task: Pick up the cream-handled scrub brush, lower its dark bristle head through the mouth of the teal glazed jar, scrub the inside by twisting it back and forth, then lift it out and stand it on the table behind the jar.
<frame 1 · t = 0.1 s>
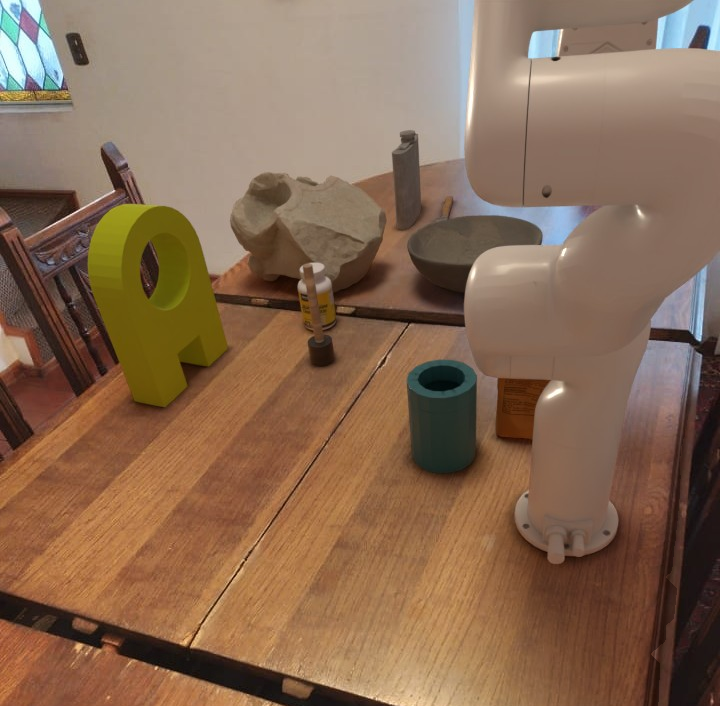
hand: (592, 157, 80), 37 cm above the table, tool pointing down, fingers open, 9 cm apart
bowl: (473, 283, 139), on the table
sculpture: (320, 275, 150), on the table
pill bottle: (320, 324, 133), on the table
decorative object: (183, 374, 124), on the table
jar: (443, 452, 99), on the table
scrub brush: (322, 359, 122), on the table
knife: (440, 225, 164), on the table
hip flask: (411, 218, 170), on the table
coffee package: (530, 420, 103), on the table
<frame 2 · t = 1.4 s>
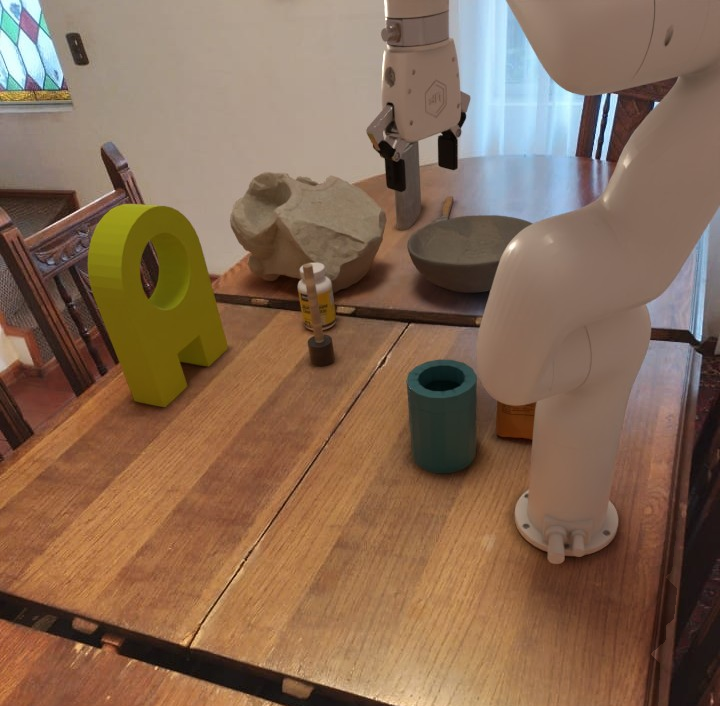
hand: (422, 178, 92), 33 cm above the table, tool pointing down, fingers open, 9 cm apart
nothing on the table moved.
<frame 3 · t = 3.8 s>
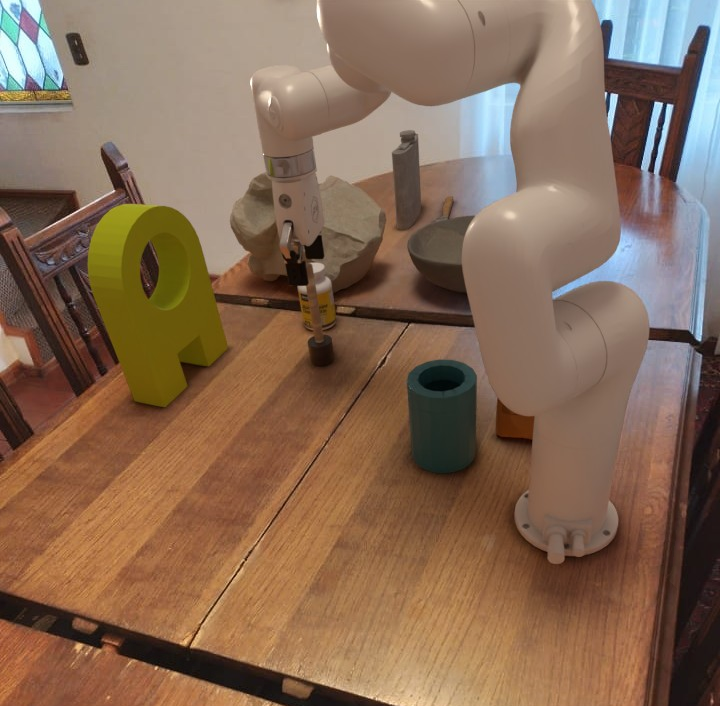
hand: (307, 271, 111), 17 cm above the table, tool pointing down, fingers open, 9 cm apart
nothing on the table moved.
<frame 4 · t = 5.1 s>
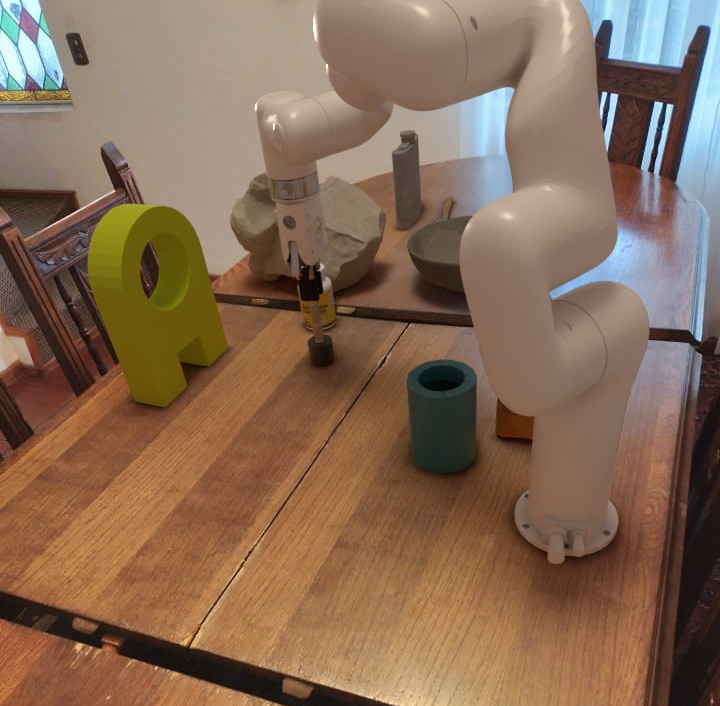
hand: (312, 296, 114), 13 cm above the table, tool pointing down, fingers closed on scrub brush
scrub brush: (322, 359, 122), on the table, touching gripper
everything else where it was.
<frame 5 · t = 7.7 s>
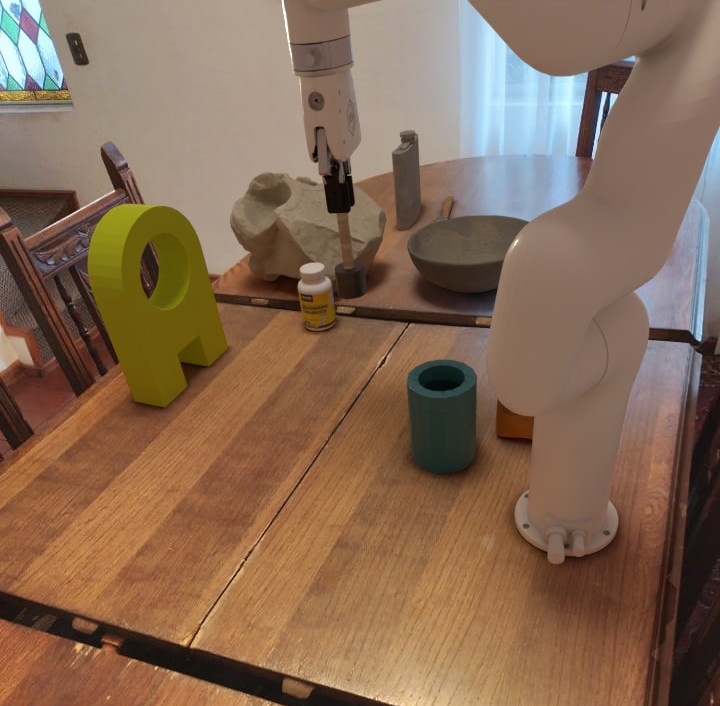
hand: (341, 208, 93), 31 cm above the table, tool pointing down, fingers closed on scrub brush
scrub brush: (352, 292, 101), point 18 cm above the table, touching gripper
everything else where it was.
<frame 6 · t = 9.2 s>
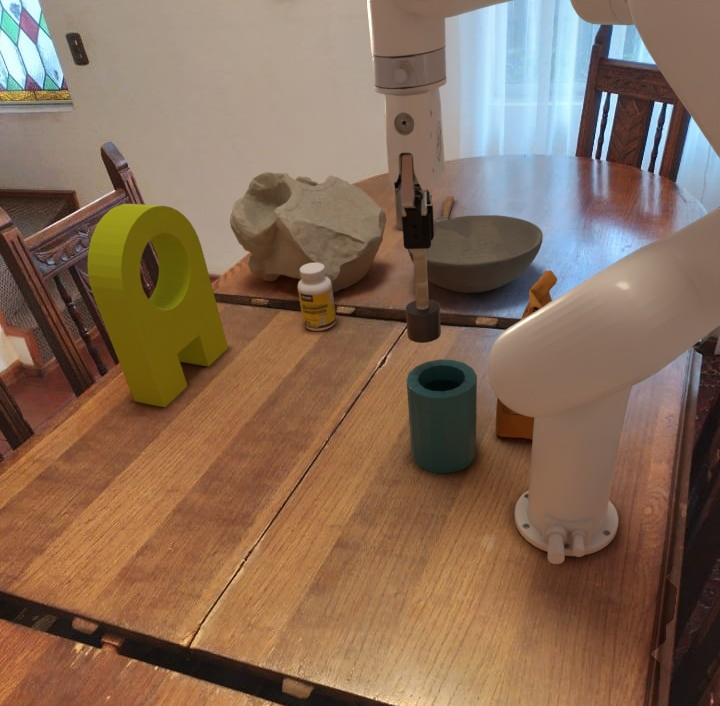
hand: (419, 242, 81), 31 cm above the table, tool pointing down, fingers closed on scrub brush
scrub brush: (424, 334, 89), point 18 cm above the table, touching gripper
everything else where it was.
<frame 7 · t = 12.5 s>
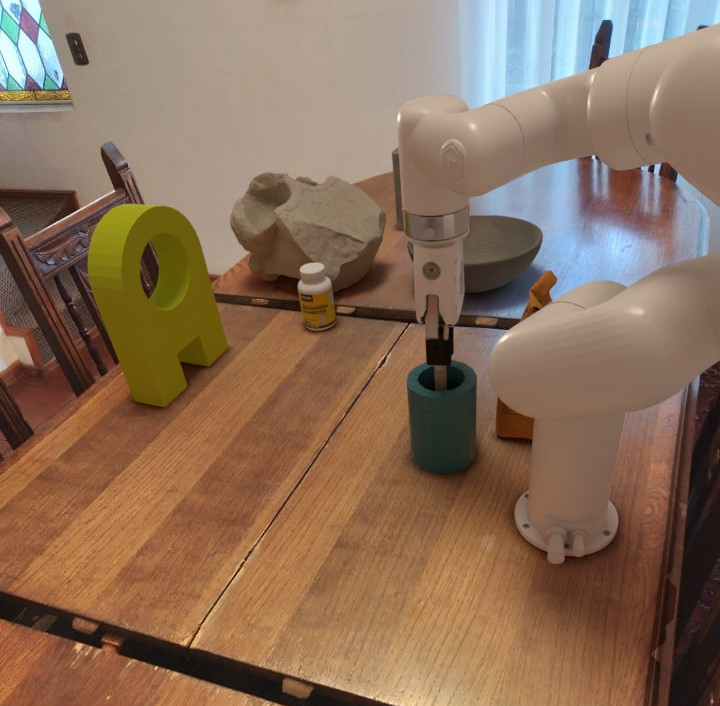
hand: (440, 358, 89), 16 cm above the table, tool pointing down, fingers closed on scrub brush
scrub brush: (442, 433, 97), point 4 cm above the table, touching gripper
everything else where it was.
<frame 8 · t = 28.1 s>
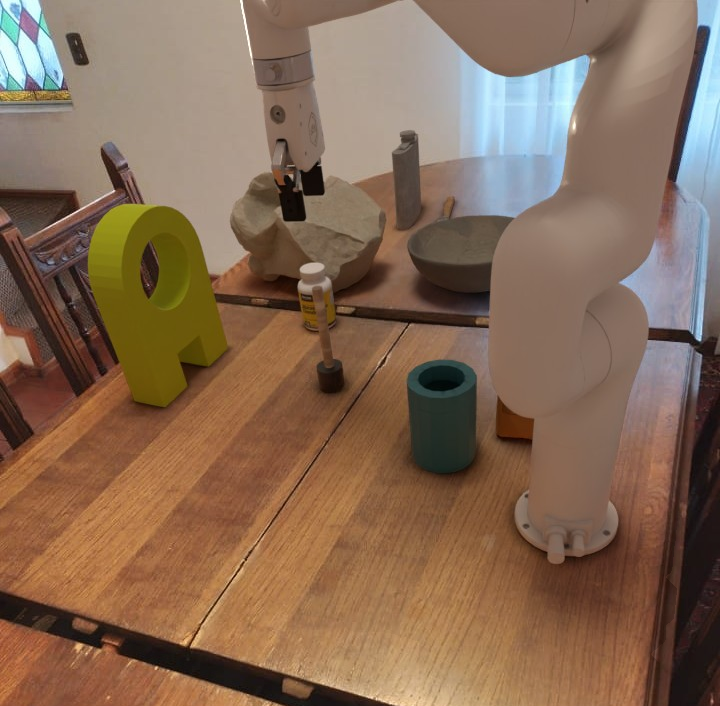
hand: (305, 207, 96), 30 cm above the table, tool pointing down, fingers open, 9 cm apart
scrub brush: (332, 385, 115), on the table
everything else where it was.
at the end: scrub brush 0.1 cm from the target spot on the table beside the jar, on the table; scrub brush tilted 0°; the gripper is holding nothing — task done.
